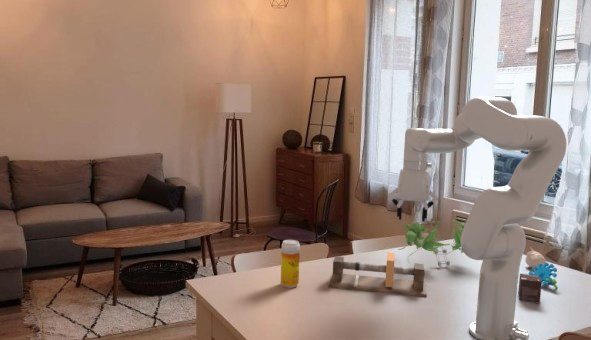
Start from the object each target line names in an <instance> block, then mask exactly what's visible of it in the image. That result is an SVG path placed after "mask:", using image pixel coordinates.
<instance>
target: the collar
mask: <svg viewBox="0 0 591 340" xmlns="http://www.w3.org/2000/svg"><path fill="white" fill-rule="evenodd" d="M395 258H396V257H395V252H387V253H386V273H385V278H386V283H385V287H393V279H395V277H394V275H395V274H394V266H395Z"/></svg>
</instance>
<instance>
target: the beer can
mask: <svg viewBox="0 0 591 340" xmlns="http://www.w3.org/2000/svg"><path fill="white" fill-rule="evenodd" d="M280 251H281V253H280V255H281V260H280V261H281V262H280V284H281V286H282V287H284V288H286V289H292V288H296V287H297V286H299V284H300V259H301V258H300V254H301V244H300V241H298V240H296V239H285V240H283V241H282V244H281V250H280Z"/></svg>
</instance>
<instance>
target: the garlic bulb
mask: <svg viewBox="0 0 591 340" xmlns="http://www.w3.org/2000/svg"><path fill="white" fill-rule="evenodd" d="M529 249H530V250H529V251H527V253H526V257H525V263H526V265H527V266H528V267H529V268H531V269H532V268H533V267H534V266H535V267H536V268H537V269H538V264H539V263H541V264H542V265H543V266H544V263H545V262H547V261H546V258H545V257H544V255H543V254H541V253H540V252H538V251H536V250H534V249H533V247H532V246H529ZM543 266H542V267H543Z"/></svg>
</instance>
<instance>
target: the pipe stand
mask: <svg viewBox="0 0 591 340" xmlns="http://www.w3.org/2000/svg"><path fill="white" fill-rule="evenodd" d="M344 260H345V257H344V256H338V255H337V256H336V255H335V256H334V258H333V261H332V273H331V276H330V279H329V281H328V284H327V285H328V286H327V288H334V289H335V288H336V289H345V290H355V291H367V292H375V293H383V294H397V295H403V296H414V297H425V298H427V297H428V295H427V294H428V293H427V289H426V282H425V265H424V263H418V262H414V265H413V267H405V266H397V265H396V266H395V265H394V275H395V274H398V275H405V276H413V279H410V280H409V279H401V278H394V279H393V287H385V283H386V277H380V276H379V277H377V276H370V275H369V276H367V275H359V274H347V273H344V270H351V271H352V270H353V271H357V272H359V271H363V272H364V271H365V272H375V273H384V274H386V265H387V264H386V265H383V264H372V263H362V262H361V263H360V262H357V261H355V262H351V261H344Z"/></svg>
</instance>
